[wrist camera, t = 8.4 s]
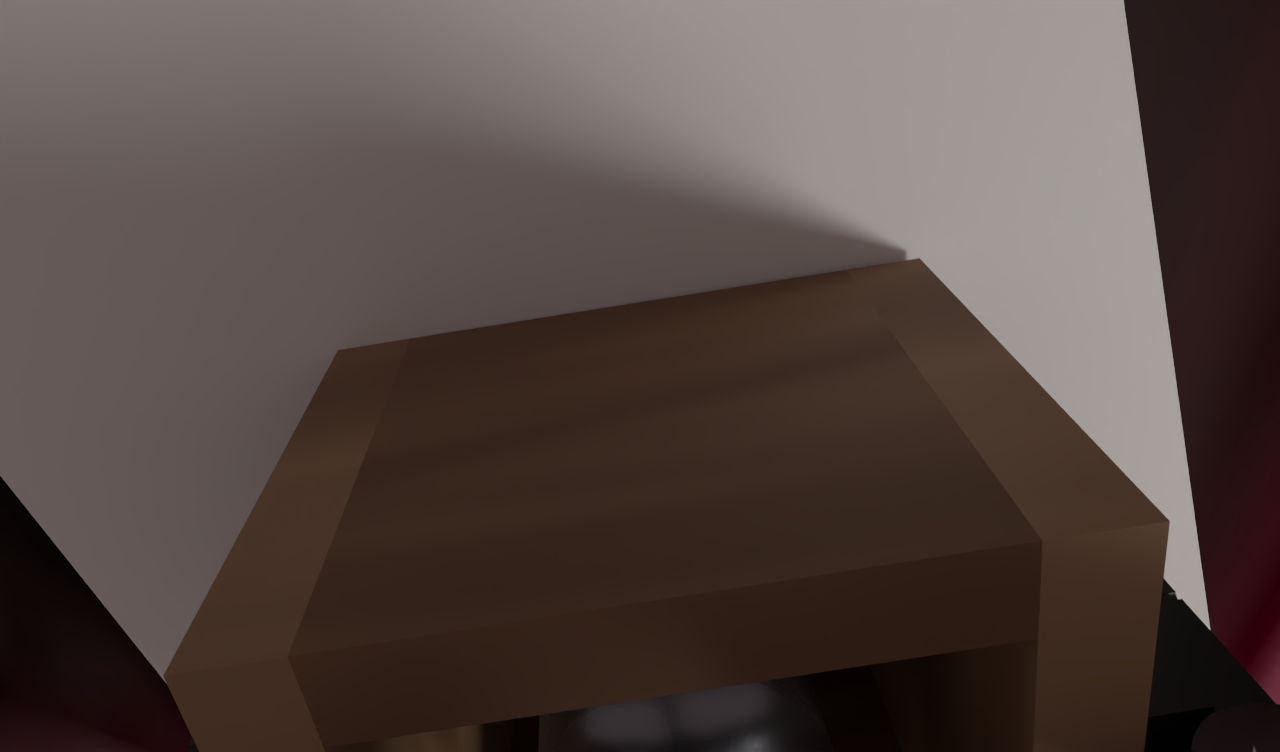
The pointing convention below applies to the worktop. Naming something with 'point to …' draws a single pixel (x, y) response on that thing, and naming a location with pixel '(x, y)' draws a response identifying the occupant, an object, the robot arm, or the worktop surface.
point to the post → (697, 722)
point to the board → (524, 219)
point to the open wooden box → (687, 535)
